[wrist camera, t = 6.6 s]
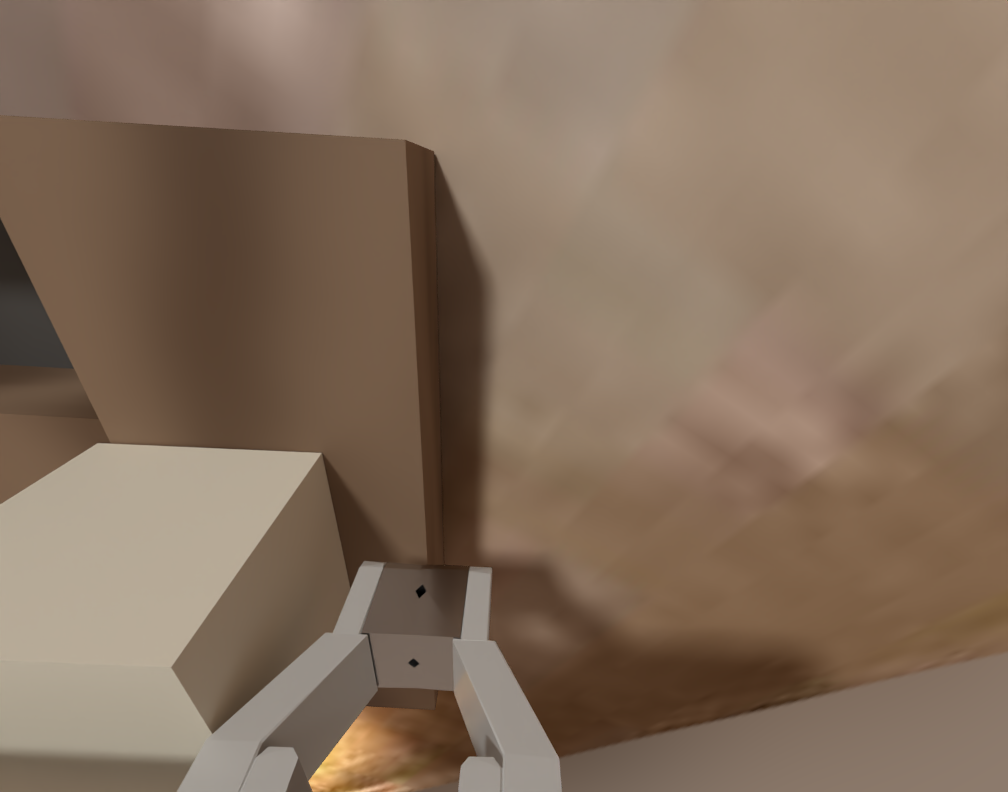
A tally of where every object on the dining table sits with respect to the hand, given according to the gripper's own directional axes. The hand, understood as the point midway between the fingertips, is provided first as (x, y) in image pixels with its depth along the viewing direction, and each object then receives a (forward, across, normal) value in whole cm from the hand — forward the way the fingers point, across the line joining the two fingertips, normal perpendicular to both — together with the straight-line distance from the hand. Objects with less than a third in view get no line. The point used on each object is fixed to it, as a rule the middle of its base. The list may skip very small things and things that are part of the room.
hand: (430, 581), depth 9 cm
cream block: (+1, +5, 0) cm, 5 cm away
